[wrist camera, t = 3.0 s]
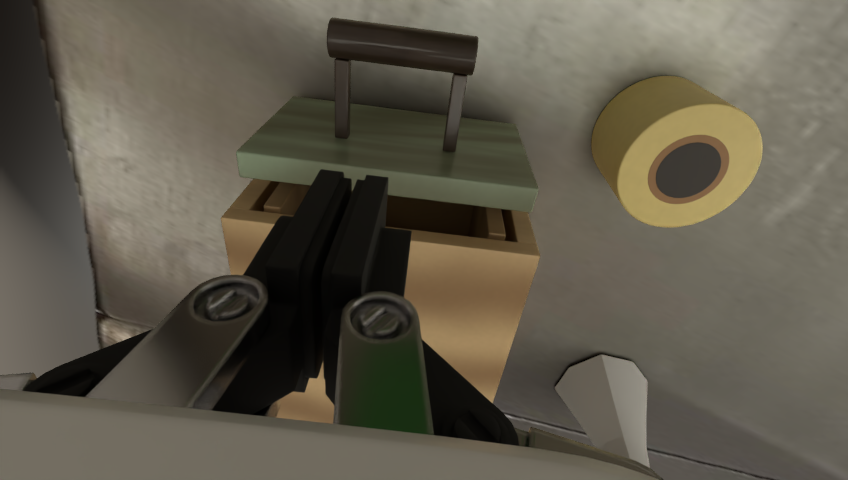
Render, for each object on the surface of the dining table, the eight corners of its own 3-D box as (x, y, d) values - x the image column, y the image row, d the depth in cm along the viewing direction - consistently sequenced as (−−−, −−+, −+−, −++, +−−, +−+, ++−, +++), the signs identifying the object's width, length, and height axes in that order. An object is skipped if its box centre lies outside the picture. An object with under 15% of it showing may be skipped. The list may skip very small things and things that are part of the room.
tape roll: (636, 55, 23) (677, 80, 19) (737, 102, 24) (797, 136, 20) (569, 162, 27) (590, 202, 23) (660, 199, 28) (696, 244, 24)
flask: (539, 386, 39) (562, 506, 30) (600, 340, 35) (646, 463, 27) (598, 417, 41) (635, 537, 32) (661, 376, 37) (722, 500, 29)
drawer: (287, -6, 22) (215, 17, 15) (538, 27, 22) (575, 63, 15) (304, 292, 33) (267, 379, 26) (471, 312, 33) (476, 403, 26)
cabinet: (290, 134, 27) (220, 217, 19) (514, 162, 27) (540, 256, 19) (302, 319, 36) (258, 430, 27) (470, 339, 36) (476, 455, 28)
